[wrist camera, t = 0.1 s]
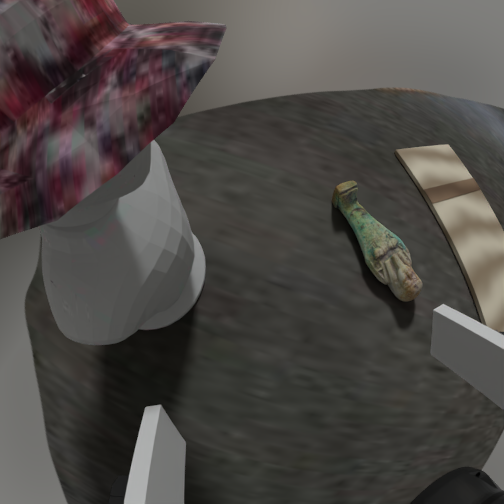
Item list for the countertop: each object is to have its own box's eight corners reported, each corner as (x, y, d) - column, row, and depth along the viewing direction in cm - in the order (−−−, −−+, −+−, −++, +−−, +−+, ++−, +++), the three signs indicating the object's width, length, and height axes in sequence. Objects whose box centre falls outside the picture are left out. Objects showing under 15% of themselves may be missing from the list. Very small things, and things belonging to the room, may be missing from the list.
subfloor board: (529, 307, 24) (533, 306, 23) (489, 349, 23) (493, 348, 22) (446, 147, 37) (448, 144, 36) (394, 153, 36) (396, 149, 35)
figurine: (362, 191, 33) (371, 172, 30) (419, 295, 27) (436, 285, 24) (327, 201, 33) (333, 182, 29) (384, 314, 27) (399, 306, 23)
